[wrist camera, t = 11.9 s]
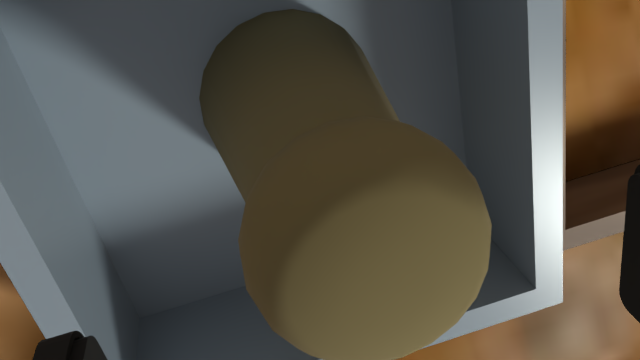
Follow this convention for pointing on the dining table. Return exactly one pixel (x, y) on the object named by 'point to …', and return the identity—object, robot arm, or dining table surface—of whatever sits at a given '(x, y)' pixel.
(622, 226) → the walnut corral
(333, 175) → the cork
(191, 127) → the grey bin
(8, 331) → the dining table surface
